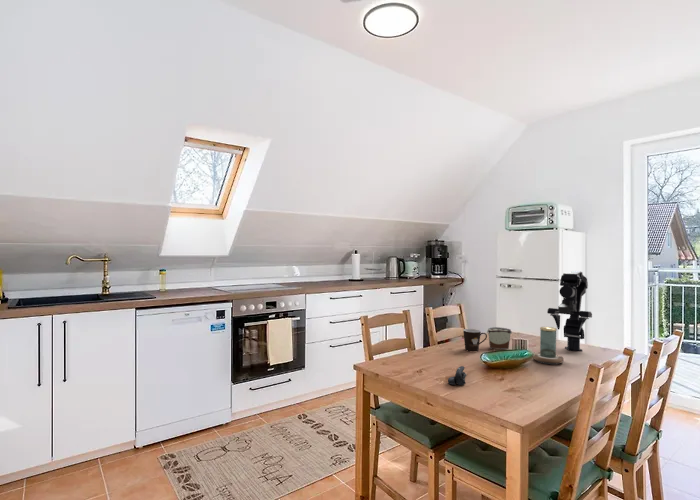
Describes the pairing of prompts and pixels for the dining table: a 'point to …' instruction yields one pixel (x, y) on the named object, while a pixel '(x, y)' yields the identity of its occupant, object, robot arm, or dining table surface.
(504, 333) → the food container
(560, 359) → the turntable
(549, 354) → the tea tin
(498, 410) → the dining table surface
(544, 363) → the turntable base
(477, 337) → the coffee mug
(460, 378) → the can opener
